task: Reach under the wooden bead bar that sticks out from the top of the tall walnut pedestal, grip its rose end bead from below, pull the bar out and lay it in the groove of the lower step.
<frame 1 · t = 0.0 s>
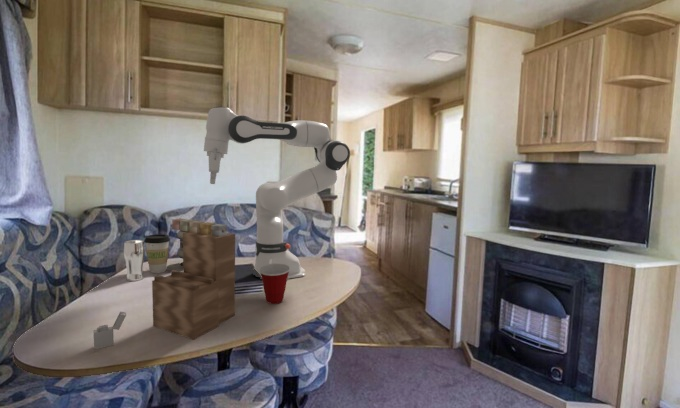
hand: (212, 183, 140), 39 cm above the table, tool pointing down, fingers open, 8 cm apart
plastic cup: (274, 301, 123), on the table
bead bar: (179, 228, 112), point 26 cm above the table, touching walnut display stand
apothecary jar: (191, 264, 162), on the table
beer glass: (135, 279, 140), on the table
walnut display stand: (180, 307, 115), on the table
coffee cup: (157, 271, 151), on the table
lighter: (110, 344, 91), on the table
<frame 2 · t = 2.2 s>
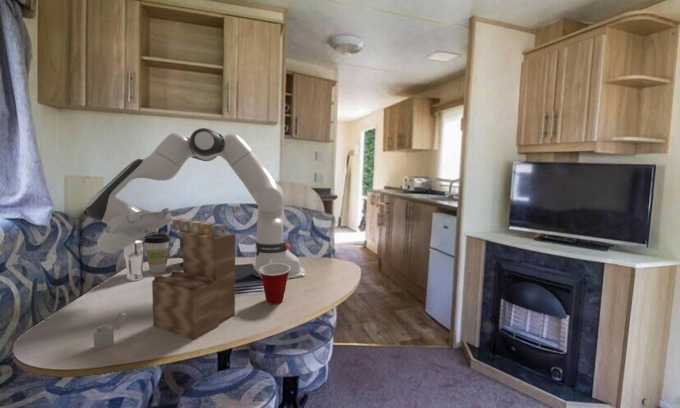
hand: (154, 211, 116), 30 cm above the table, tool pointing upward, fingers open, 8 cm apart
nothing on the table moved.
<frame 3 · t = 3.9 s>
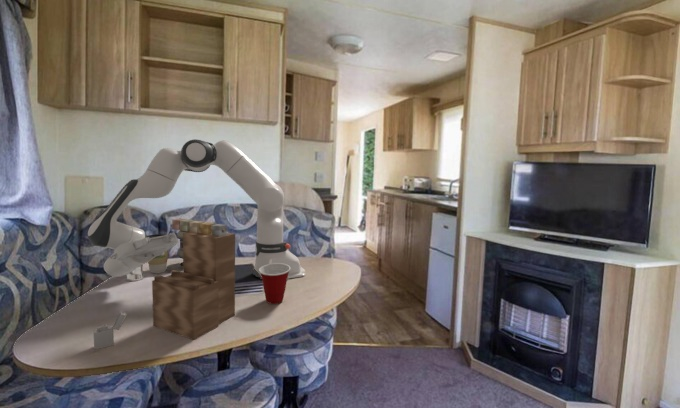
hand: (161, 236, 116), 22 cm above the table, tool pointing upward, fingers open, 8 cm apart
nothing on the table moved.
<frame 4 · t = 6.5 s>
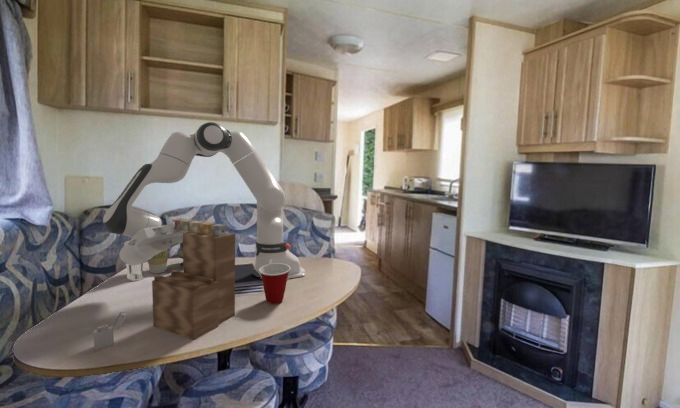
hand: (181, 223, 111), 28 cm above the table, tool pointing upward, fingers closed on bead bar, 3 cm apart
bead bar: (179, 228, 112), point 26 cm above the table, touching gripper, walnut display stand
everything else where it was.
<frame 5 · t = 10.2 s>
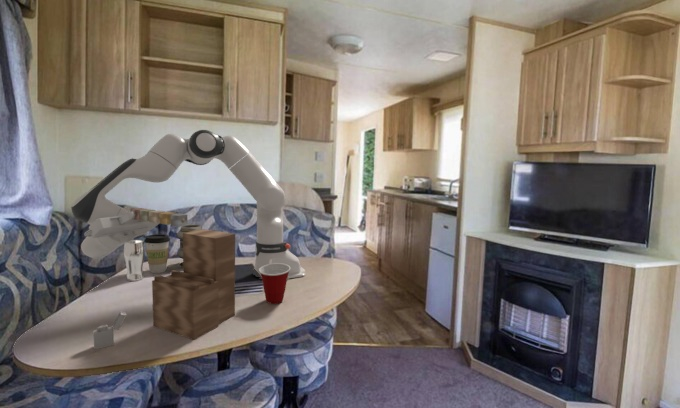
hand: (141, 212, 105), 32 cm above the table, tool pointing upward, fingers closed on bead bar, 3 cm apart
bead bar: (140, 219, 106), point 30 cm above the table, touching gripper
everything else where it was.
when the fingers open (18 cm above the table, at t = 13.8 s): bead bar drops 3 cm, resting on walnut display stand.
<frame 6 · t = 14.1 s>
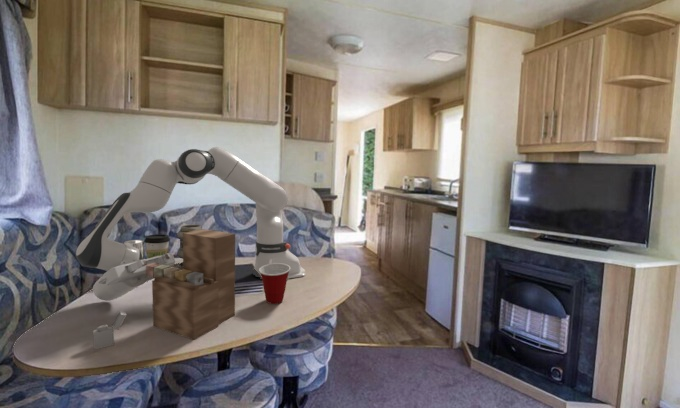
hand: (156, 258, 104), 18 cm above the table, tool pointing upward, fingers open, 6 cm apart
bead bar: (154, 274, 105), point 13 cm above the table, touching walnut display stand
everything else where it was.
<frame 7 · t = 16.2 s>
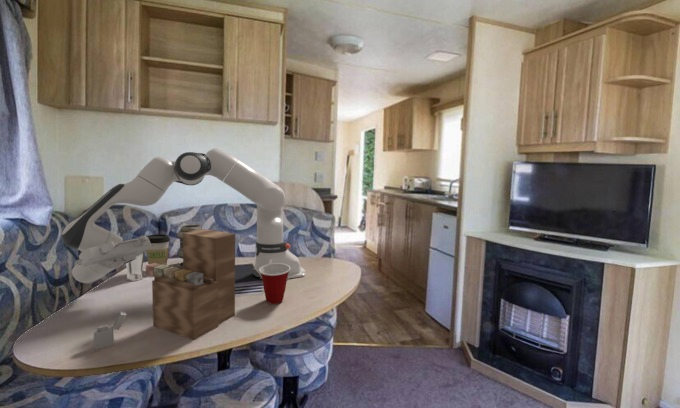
hand: (130, 240, 109), 22 cm above the table, tool pointing upward, fingers open, 8 cm apart
nothing on the table moved.
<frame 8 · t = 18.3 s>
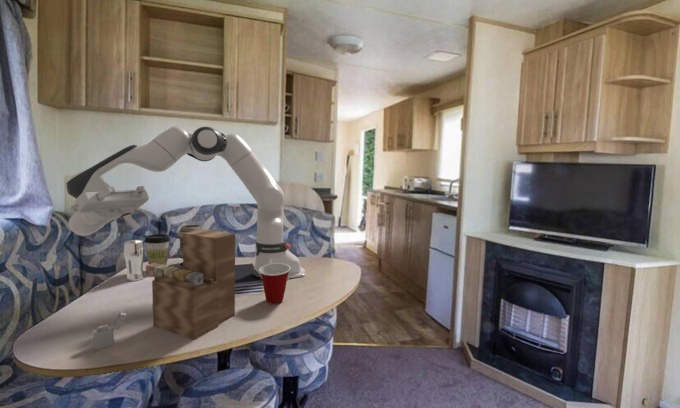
hand: (127, 188, 107), 38 cm above the table, tool pointing upward, fingers open, 8 cm apart
nothing on the table moved.
at the end: bead bar inside the target area on the walnut display stand (0.2 cm from its centre), point 13.5 cm above the walnut display stand's base; the gripper is holding nothing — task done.
